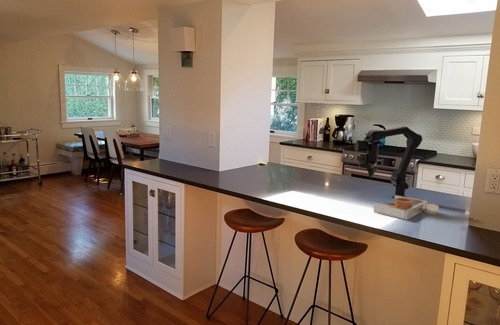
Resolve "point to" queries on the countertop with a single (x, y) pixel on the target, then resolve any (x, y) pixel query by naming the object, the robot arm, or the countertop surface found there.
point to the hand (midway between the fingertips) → (370, 178)
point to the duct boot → (400, 213)
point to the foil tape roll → (431, 209)
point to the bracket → (401, 203)
